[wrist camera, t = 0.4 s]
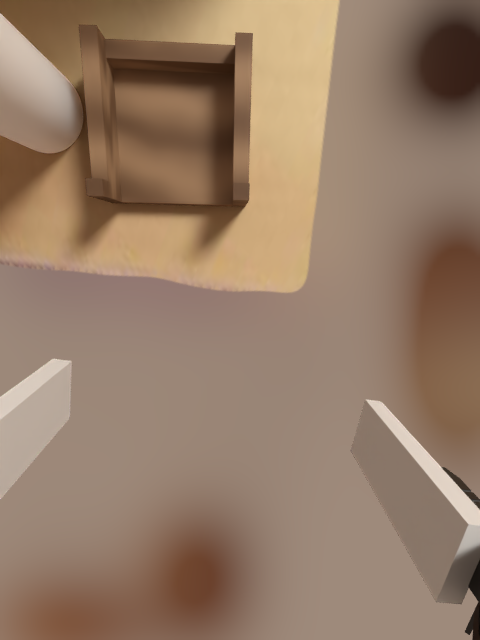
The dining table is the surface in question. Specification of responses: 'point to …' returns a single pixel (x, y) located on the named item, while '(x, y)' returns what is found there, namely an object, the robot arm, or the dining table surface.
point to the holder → (167, 120)
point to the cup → (35, 96)
